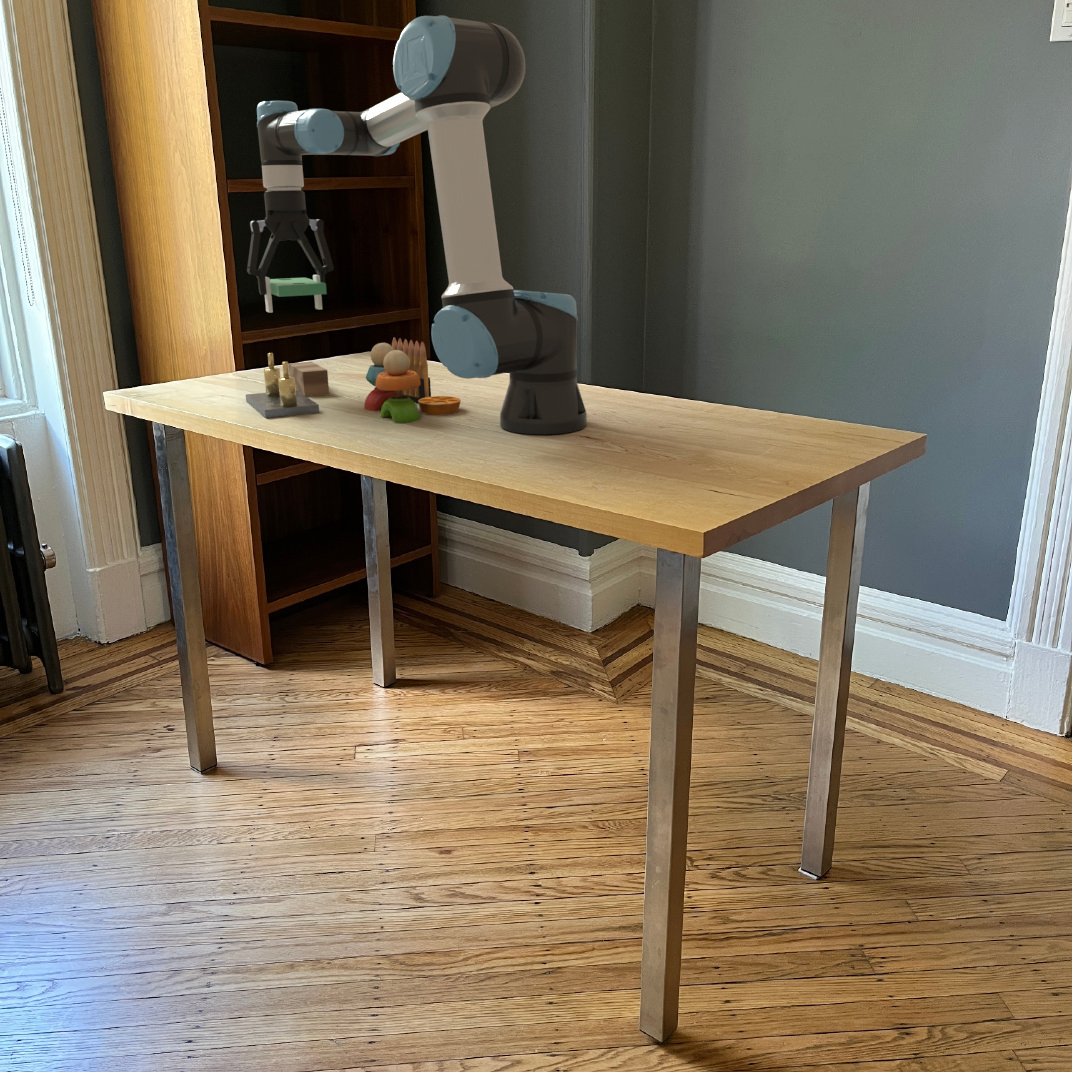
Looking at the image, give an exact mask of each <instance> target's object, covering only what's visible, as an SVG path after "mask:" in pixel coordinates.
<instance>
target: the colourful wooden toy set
mask: <svg viewBox="0 0 1072 1072" xmlns="http://www.w3.org/2000/svg"><path fill="white" fill-rule="evenodd" d="M370 361H371V362H372V364H371V365H370V366H369V368H368V370H367V373H366V376H365V379H366V381H367V382H368V383H369V384H371V386H374V389H372V390H371V391H370V392H369V393H368V395H367V396H366V398H365V401H364V406H363V407H364V409H365V410H367V411H371V412H379V411H380V418H383V419H384V418H389V417H391V419H392V423H394V424H405V423H406V424H407V423H413V422H414V421H415V422H418V421H420V420H421V416H420V412H421V413H422V414H425V415H432V416H434V415H439V416H441V415H450V414H455V413H457V412H459V410H460V405H461V401H462V400H461V398H460V397H456V396H448V395H437V396H436V395H434V396H431V397H426V398H422V399H419V400H418V403H419V404H418V403H415V402H414V401H413V400H412V399H410V397H408V396H403V394H402V391H403V390H410V389H414V388H417V387H419V386H420V384H421V383H420V378H419V376H418V374H417V373H416V372H415V371H410V370H409V367H410V360H409V358H408V356H407V355H406V354H405V353H404V352H402V351H399V350H394V348H393V347H392V344H389V343H388V342H387V343H386V342H380V343H379V342H378V343H376V344H375V345H374V346H373V347H372V349H371V351H370ZM417 404H418V405H419V409H420V412H419V410H418V405H417Z"/></svg>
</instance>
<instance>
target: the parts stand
mask: <svg viewBox="0 0 1072 1072" xmlns="http://www.w3.org/2000/svg"><path fill="white" fill-rule="evenodd" d="M288 369H289V377H294V378H295V386H296V390H297V391H299V392H300V393H302V394H303V395H305V396H306V397H313V396H323V395H330V389H329V378H328V377H329V371H328V369H326V368H324V367H322V366H321V365H319V364H317V363H315V362H313V361H308V362H307V361H306V362H305V361H304V362H295V363H288Z"/></svg>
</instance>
